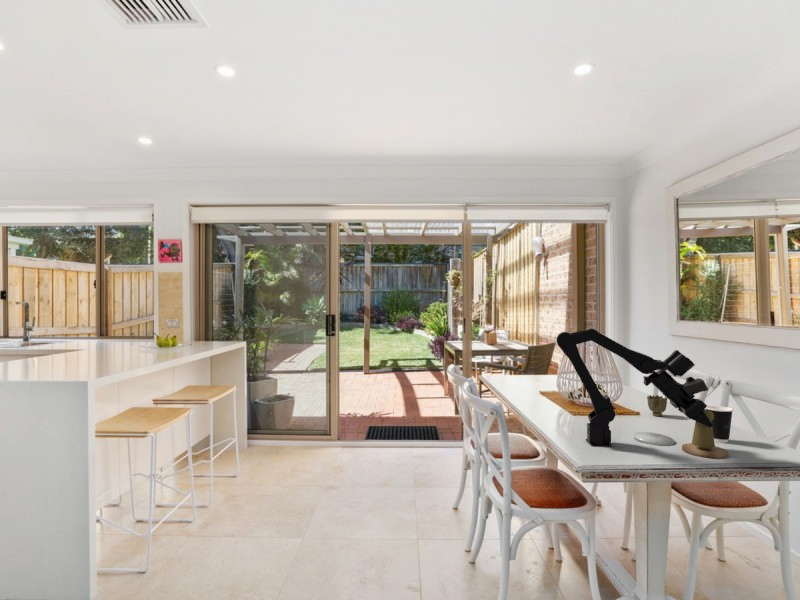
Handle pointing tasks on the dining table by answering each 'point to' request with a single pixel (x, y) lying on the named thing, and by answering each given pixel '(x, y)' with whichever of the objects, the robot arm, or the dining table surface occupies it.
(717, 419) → the dixie cup
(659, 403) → the cup
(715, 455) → the walnut trivet
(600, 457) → the dining table surface
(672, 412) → the dining table surface
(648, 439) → the grey round disc
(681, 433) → the dining table surface
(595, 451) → the dining table surface
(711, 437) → the olive chess pawn
